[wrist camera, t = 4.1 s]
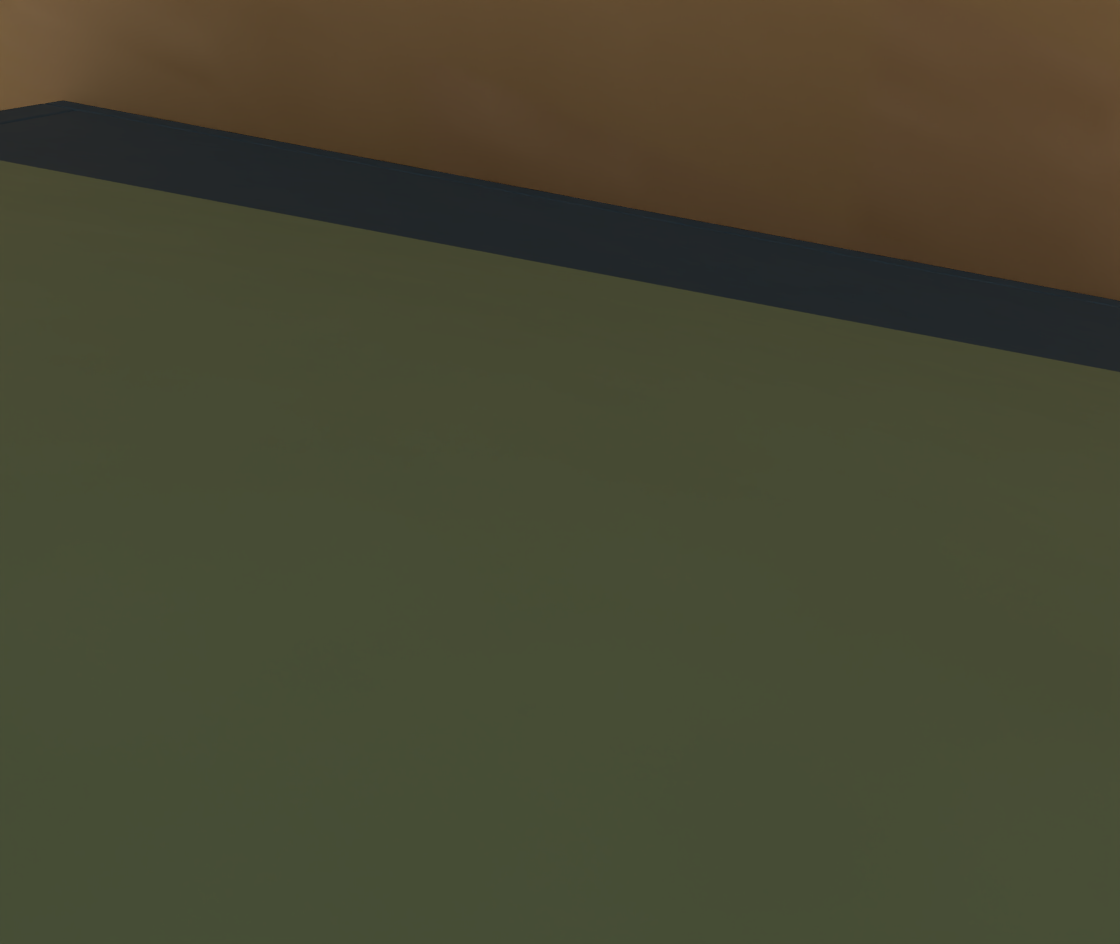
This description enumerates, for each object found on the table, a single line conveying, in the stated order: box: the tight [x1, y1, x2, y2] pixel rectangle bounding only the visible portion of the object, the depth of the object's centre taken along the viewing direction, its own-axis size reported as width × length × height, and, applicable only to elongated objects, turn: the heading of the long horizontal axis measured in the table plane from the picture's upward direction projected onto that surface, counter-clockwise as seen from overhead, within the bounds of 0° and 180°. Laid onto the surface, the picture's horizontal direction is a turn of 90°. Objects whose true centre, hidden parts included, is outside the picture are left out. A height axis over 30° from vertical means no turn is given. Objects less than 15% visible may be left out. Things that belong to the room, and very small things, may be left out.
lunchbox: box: [0, 101, 1120, 372], centre depth 17 cm, size 14×20×6 cm
